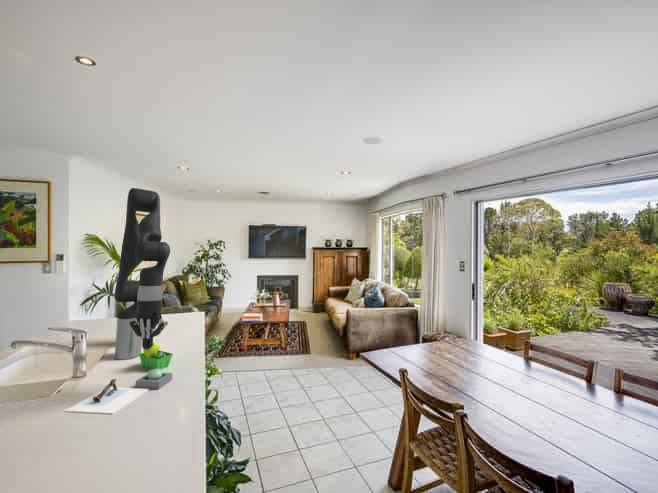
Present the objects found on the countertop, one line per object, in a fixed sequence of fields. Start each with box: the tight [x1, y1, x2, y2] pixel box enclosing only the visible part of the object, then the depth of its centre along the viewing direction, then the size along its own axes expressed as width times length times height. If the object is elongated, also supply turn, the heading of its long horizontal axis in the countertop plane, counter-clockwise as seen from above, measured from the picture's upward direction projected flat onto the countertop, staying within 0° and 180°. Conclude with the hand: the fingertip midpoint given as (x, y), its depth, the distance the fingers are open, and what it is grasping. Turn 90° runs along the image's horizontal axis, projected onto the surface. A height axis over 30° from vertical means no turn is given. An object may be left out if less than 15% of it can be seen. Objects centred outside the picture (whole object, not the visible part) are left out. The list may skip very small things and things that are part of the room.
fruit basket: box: [138, 341, 174, 370], centre depth 120 cm, size 11×9×11 cm
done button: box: [147, 369, 163, 380], centre depth 104 cm, size 4×4×3 cm
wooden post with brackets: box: [93, 378, 118, 402], centre depth 93 cm, size 2×8×4 cm, turn 176°
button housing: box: [135, 372, 173, 390], centre depth 104 cm, size 8×8×2 cm
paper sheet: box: [64, 386, 150, 415], centre depth 92 cm, size 16×14×1 cm
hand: (147, 348), depth 103 cm, fingers closed
